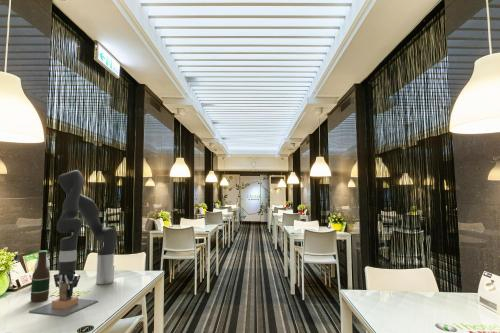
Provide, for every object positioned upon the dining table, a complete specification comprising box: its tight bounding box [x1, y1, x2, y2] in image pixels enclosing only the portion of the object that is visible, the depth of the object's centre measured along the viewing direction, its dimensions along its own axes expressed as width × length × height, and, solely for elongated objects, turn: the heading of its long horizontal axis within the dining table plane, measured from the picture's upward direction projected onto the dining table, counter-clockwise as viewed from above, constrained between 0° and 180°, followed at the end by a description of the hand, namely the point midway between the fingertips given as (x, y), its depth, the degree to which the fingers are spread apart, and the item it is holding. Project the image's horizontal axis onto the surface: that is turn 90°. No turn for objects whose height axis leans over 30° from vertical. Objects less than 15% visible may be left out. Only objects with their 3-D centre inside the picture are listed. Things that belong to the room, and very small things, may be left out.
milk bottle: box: [33, 249, 51, 272], centre depth 186 cm, size 8×8×20 cm
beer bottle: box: [30, 250, 51, 303], centre depth 159 cm, size 8×8×24 cm
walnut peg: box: [58, 281, 72, 301], centre depth 148 cm, size 4×4×10 cm
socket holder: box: [28, 296, 99, 317], centre depth 148 cm, size 20×20×4 cm
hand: (65, 296), depth 148 cm, fingers open, 3 cm apart
